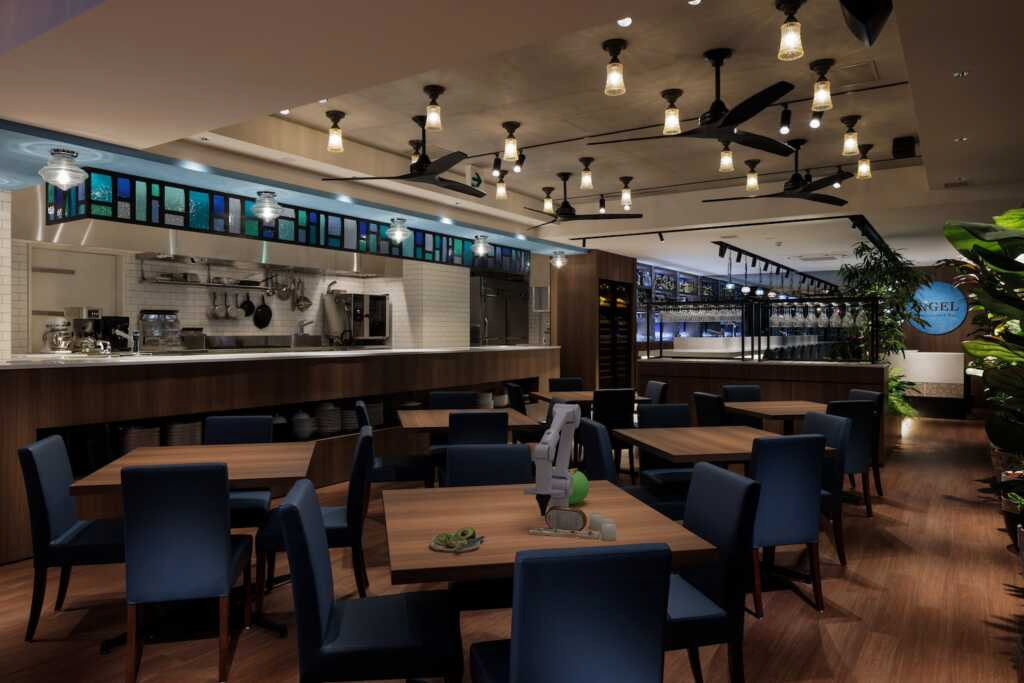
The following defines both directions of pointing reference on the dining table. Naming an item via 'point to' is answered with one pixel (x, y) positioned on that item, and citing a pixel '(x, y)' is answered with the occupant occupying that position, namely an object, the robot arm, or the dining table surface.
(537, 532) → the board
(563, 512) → the tin
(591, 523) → the cylindrical block
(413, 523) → the dining table surface
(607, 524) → the cylindrical block
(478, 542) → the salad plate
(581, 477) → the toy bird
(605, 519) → the cylindrical block
